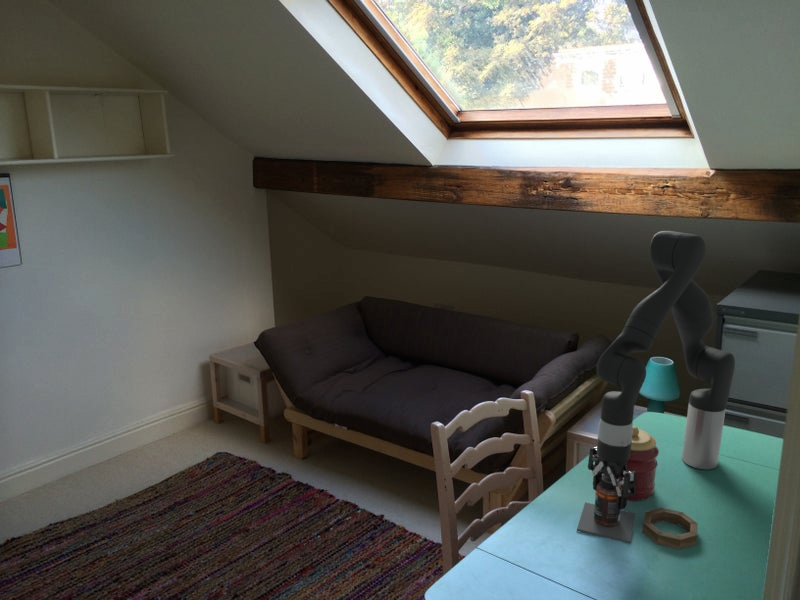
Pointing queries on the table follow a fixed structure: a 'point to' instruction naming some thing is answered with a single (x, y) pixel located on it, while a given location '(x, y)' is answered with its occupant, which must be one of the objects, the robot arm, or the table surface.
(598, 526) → the coaster
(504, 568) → the table surface
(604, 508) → the supplement bottle
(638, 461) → the canister
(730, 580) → the table surface
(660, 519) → the collar
